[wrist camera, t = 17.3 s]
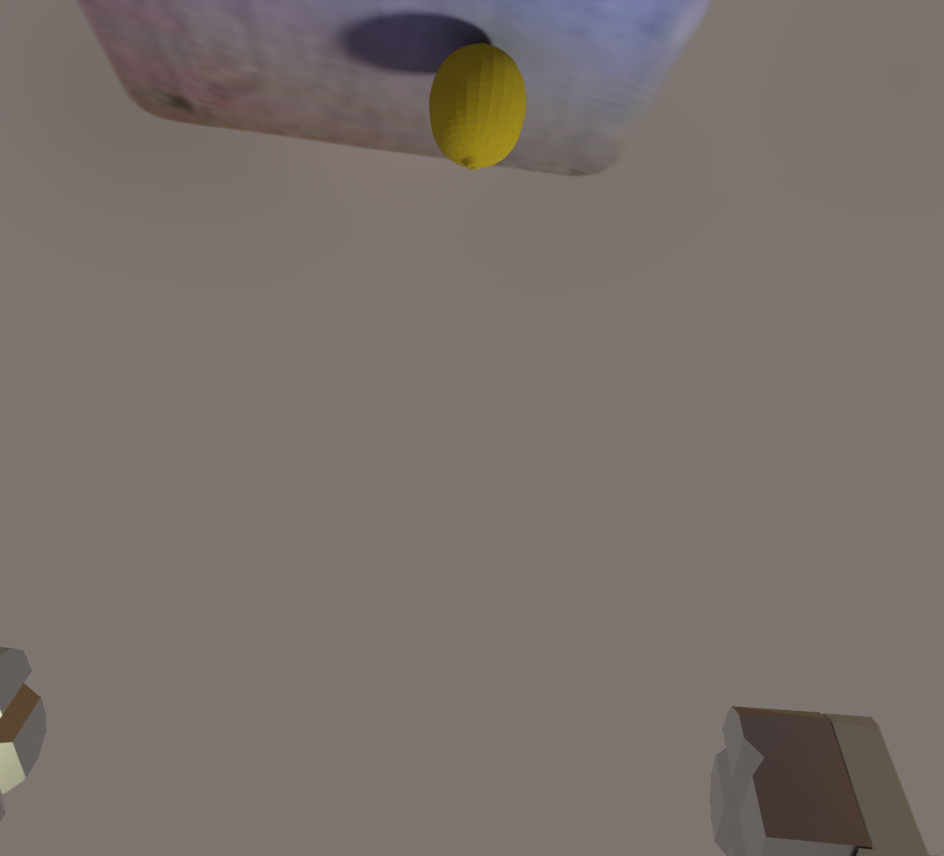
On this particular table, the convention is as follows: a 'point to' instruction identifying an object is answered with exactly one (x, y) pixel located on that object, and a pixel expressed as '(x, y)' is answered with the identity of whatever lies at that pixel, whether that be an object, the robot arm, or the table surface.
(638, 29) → the table surface
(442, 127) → the lemon
